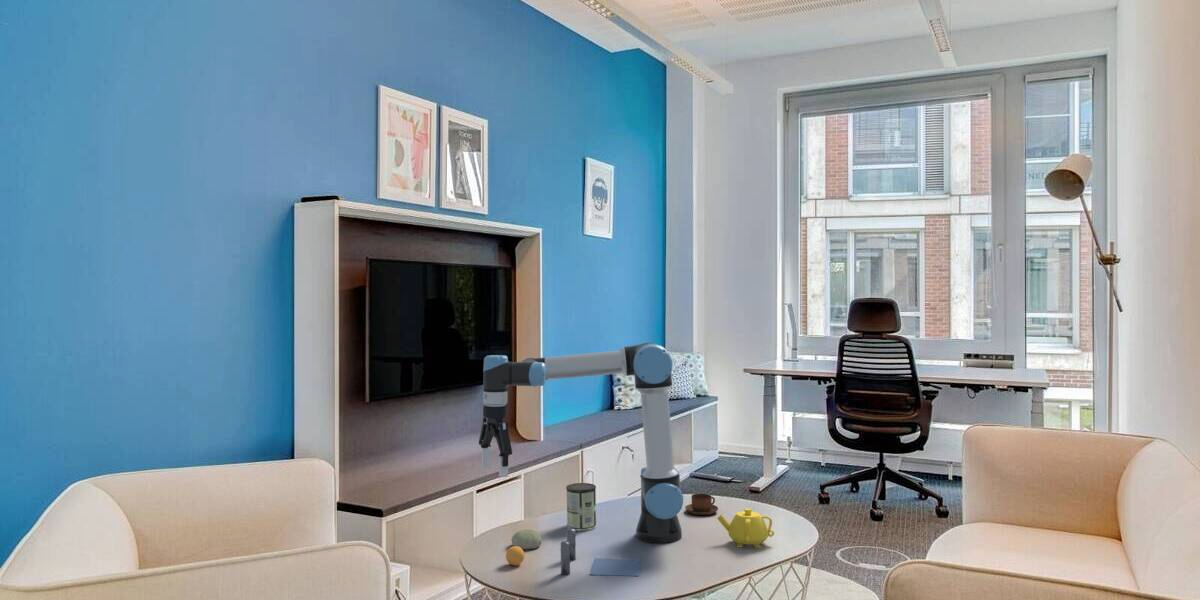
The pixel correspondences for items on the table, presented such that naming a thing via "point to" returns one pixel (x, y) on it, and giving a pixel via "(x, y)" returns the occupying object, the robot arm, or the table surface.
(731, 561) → the table surface
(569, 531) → the post
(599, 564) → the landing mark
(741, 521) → the teapot
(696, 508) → the cup and saucer
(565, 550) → the post
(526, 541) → the sea urchin shell
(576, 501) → the coffee can
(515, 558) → the ball
